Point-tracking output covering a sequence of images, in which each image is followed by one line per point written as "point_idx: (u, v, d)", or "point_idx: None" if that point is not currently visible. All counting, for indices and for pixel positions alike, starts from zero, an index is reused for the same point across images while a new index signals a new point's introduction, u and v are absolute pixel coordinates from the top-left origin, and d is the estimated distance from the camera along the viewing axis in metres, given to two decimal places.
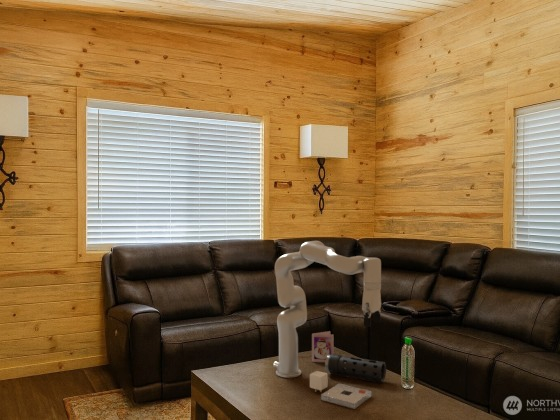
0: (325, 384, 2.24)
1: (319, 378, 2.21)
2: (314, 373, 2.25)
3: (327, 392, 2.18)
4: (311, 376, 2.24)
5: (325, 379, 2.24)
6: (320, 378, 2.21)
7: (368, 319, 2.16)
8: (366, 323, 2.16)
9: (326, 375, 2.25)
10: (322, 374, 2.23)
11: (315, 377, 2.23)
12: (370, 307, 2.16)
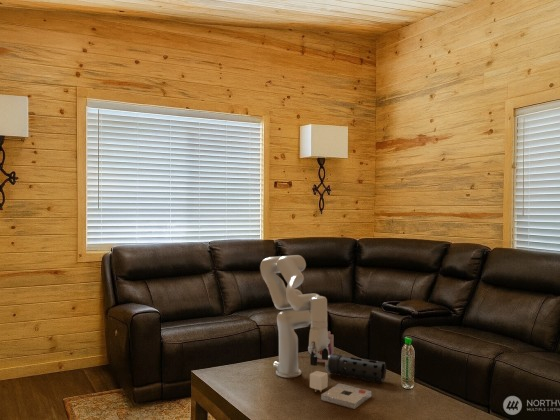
0: (325, 384, 2.24)
1: (319, 378, 2.21)
2: (314, 373, 2.25)
3: (327, 392, 2.18)
4: (311, 376, 2.24)
5: (325, 379, 2.24)
6: (320, 378, 2.21)
7: (314, 358, 2.19)
8: (312, 362, 2.19)
9: (326, 375, 2.25)
10: (322, 374, 2.23)
11: (315, 377, 2.23)
12: (316, 346, 2.19)
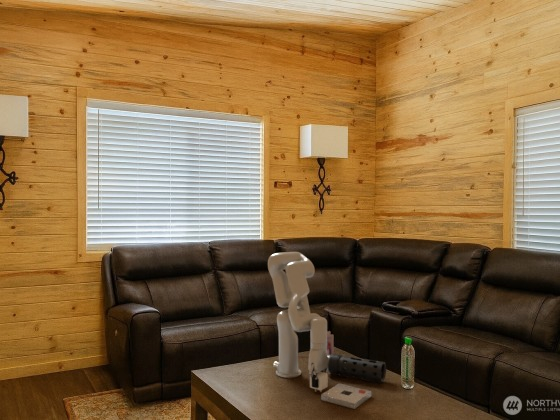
0: (325, 384, 2.24)
1: (319, 378, 2.21)
2: (314, 373, 2.25)
3: (327, 392, 2.18)
4: None
5: (325, 379, 2.24)
6: (320, 378, 2.21)
7: (315, 380, 2.21)
8: (314, 384, 2.22)
9: (326, 375, 2.25)
10: (322, 374, 2.23)
11: None
12: (315, 367, 2.20)
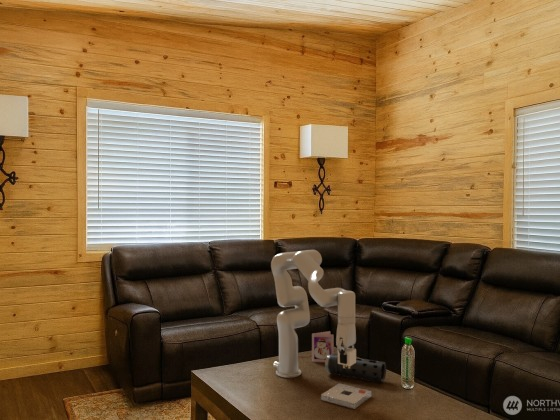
0: (353, 360, 2.15)
1: (348, 353, 2.13)
2: None
3: (327, 392, 2.18)
4: None
5: (354, 355, 2.15)
6: (349, 353, 2.13)
7: (344, 356, 2.13)
8: (342, 360, 2.13)
9: (355, 351, 2.16)
10: (350, 350, 2.15)
11: None
12: (344, 342, 2.11)
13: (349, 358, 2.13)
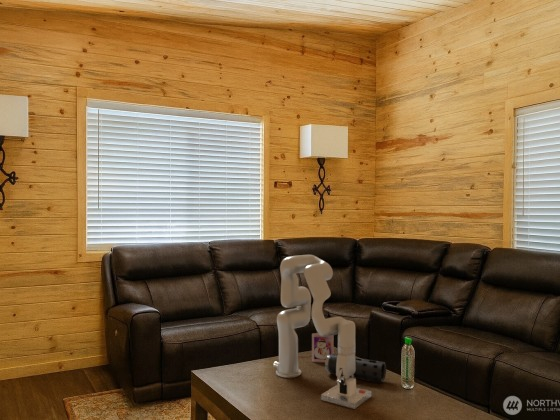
0: (353, 390, 2.15)
1: (348, 384, 2.13)
2: (342, 378, 2.17)
3: (327, 392, 2.18)
4: None
5: (353, 385, 2.16)
6: (349, 384, 2.13)
7: (344, 386, 2.13)
8: (342, 390, 2.13)
9: (354, 380, 2.16)
10: (350, 380, 2.15)
11: None
12: (344, 373, 2.12)
13: (349, 388, 2.13)
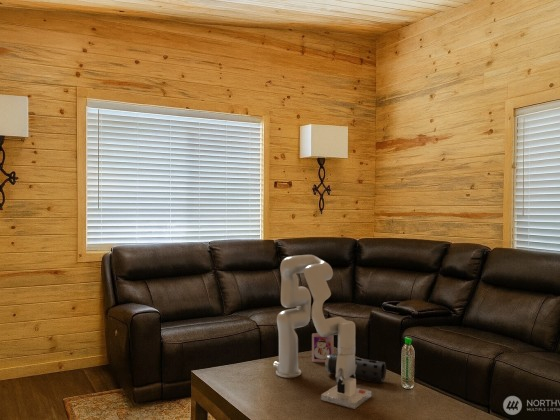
0: (353, 390, 2.15)
1: (348, 384, 2.13)
2: None
3: (327, 392, 2.18)
4: None
5: (353, 385, 2.16)
6: (349, 384, 2.13)
7: (341, 385, 2.12)
8: (339, 389, 2.12)
9: (354, 381, 2.16)
10: (350, 380, 2.15)
11: None
12: (344, 373, 2.12)
13: (349, 388, 2.13)
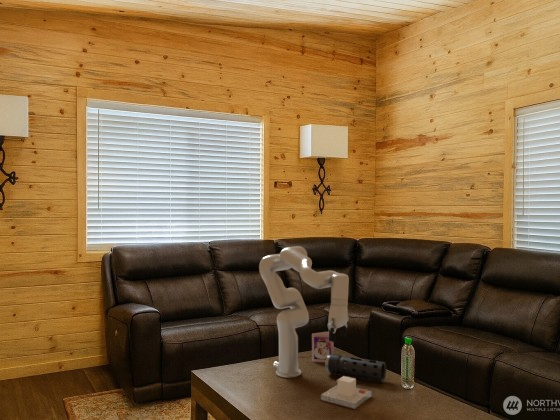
0: (353, 390, 2.15)
1: (348, 384, 2.13)
2: (342, 378, 2.17)
3: (327, 392, 2.18)
4: (339, 382, 2.16)
5: (353, 385, 2.16)
6: (349, 384, 2.13)
7: (333, 334, 2.20)
8: (331, 338, 2.20)
9: (354, 381, 2.16)
10: (350, 380, 2.15)
11: (343, 382, 2.14)
12: (335, 323, 2.20)
13: (349, 388, 2.13)
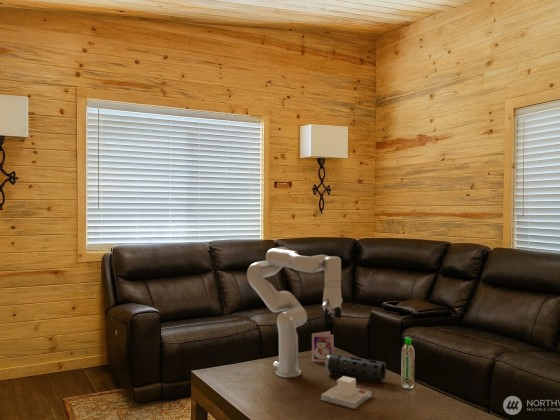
0: (353, 390, 2.15)
1: (348, 384, 2.13)
2: (342, 378, 2.17)
3: (327, 392, 2.18)
4: (339, 382, 2.16)
5: (353, 385, 2.16)
6: (349, 384, 2.13)
7: (328, 315, 2.28)
8: (326, 318, 2.28)
9: (354, 381, 2.16)
10: (350, 380, 2.15)
11: (343, 382, 2.14)
12: (330, 303, 2.28)
13: (349, 388, 2.13)
